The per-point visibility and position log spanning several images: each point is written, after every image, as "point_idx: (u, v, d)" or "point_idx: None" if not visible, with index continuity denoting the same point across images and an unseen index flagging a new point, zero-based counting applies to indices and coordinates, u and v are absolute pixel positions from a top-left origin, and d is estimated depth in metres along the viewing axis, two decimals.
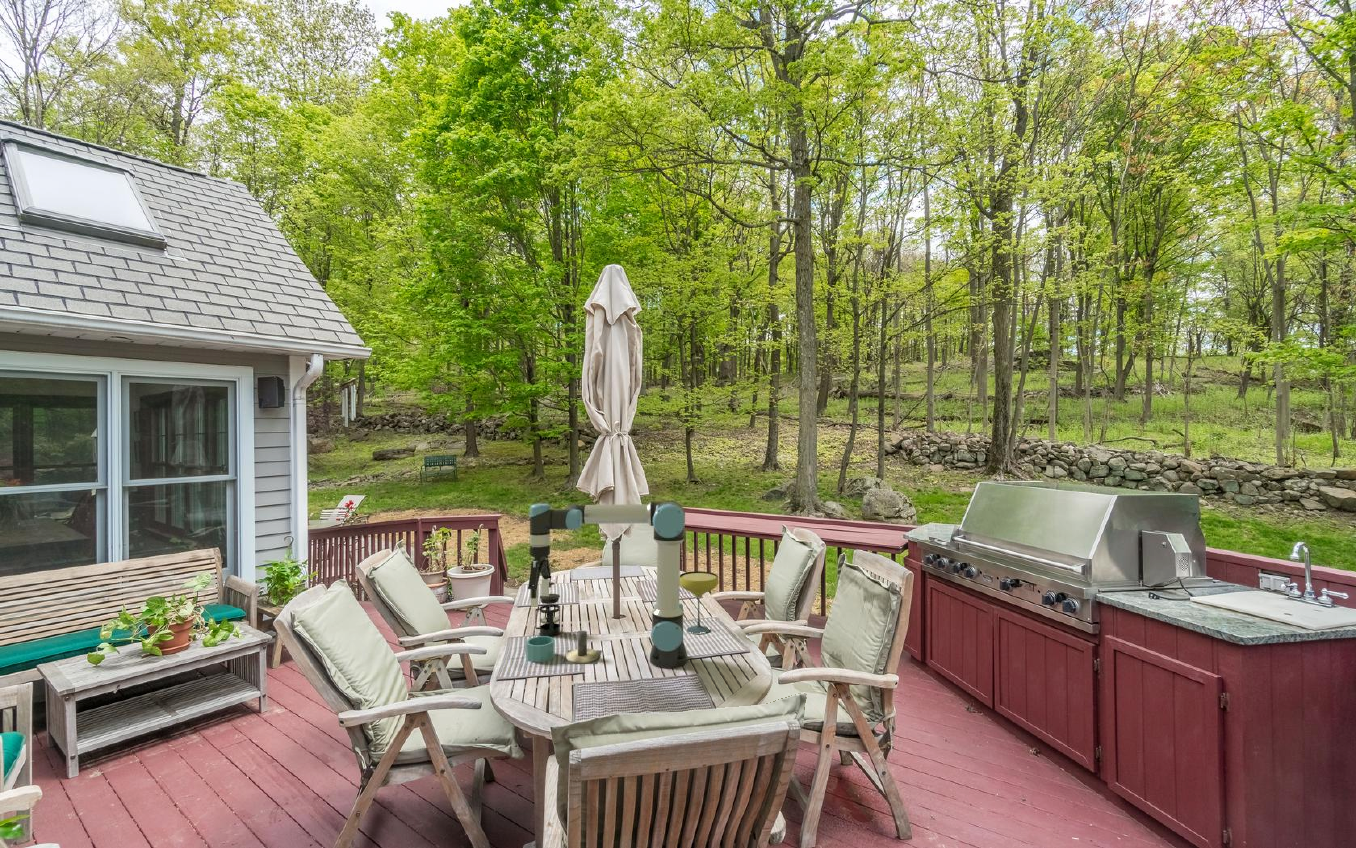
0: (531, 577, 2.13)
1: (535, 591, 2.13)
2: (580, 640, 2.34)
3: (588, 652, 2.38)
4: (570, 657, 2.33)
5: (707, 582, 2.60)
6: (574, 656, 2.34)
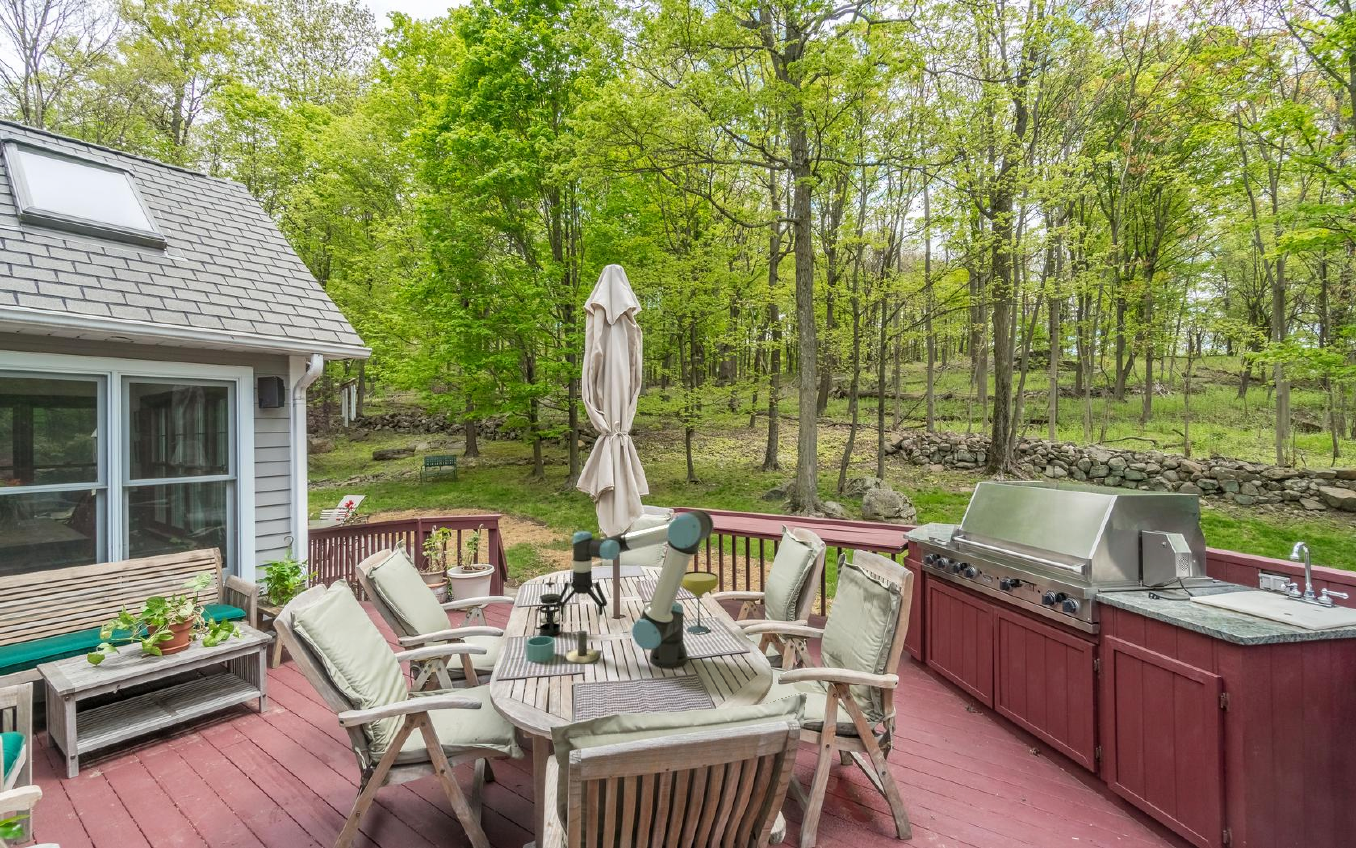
0: None
1: (562, 608, 2.35)
2: (580, 640, 2.34)
3: (588, 652, 2.38)
4: (570, 657, 2.33)
5: (707, 582, 2.60)
6: (574, 656, 2.34)
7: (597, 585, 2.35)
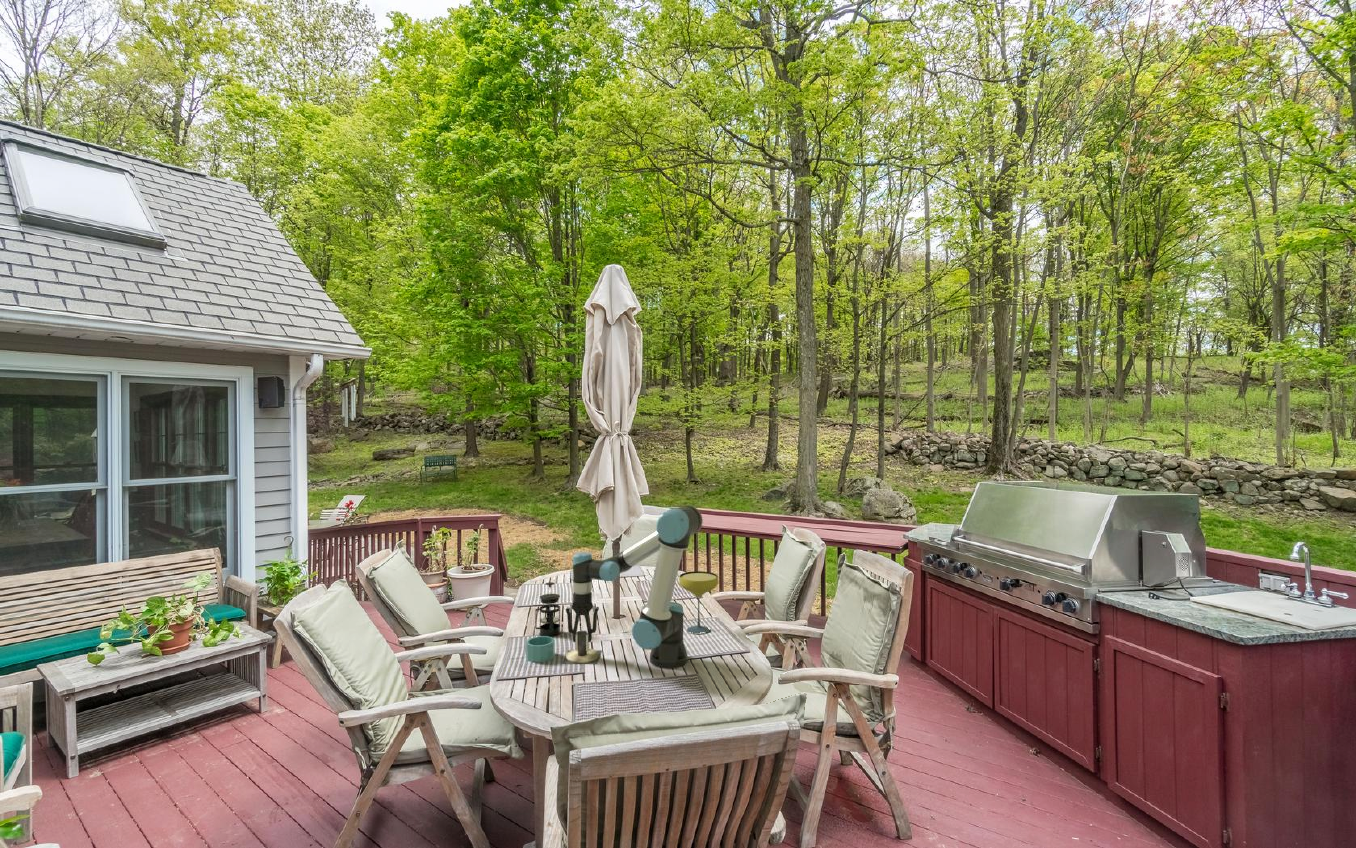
0: None
1: (574, 636, 2.35)
2: (580, 640, 2.34)
3: (588, 652, 2.38)
4: (570, 656, 2.33)
5: (707, 582, 2.60)
6: (574, 656, 2.34)
7: (596, 611, 2.34)
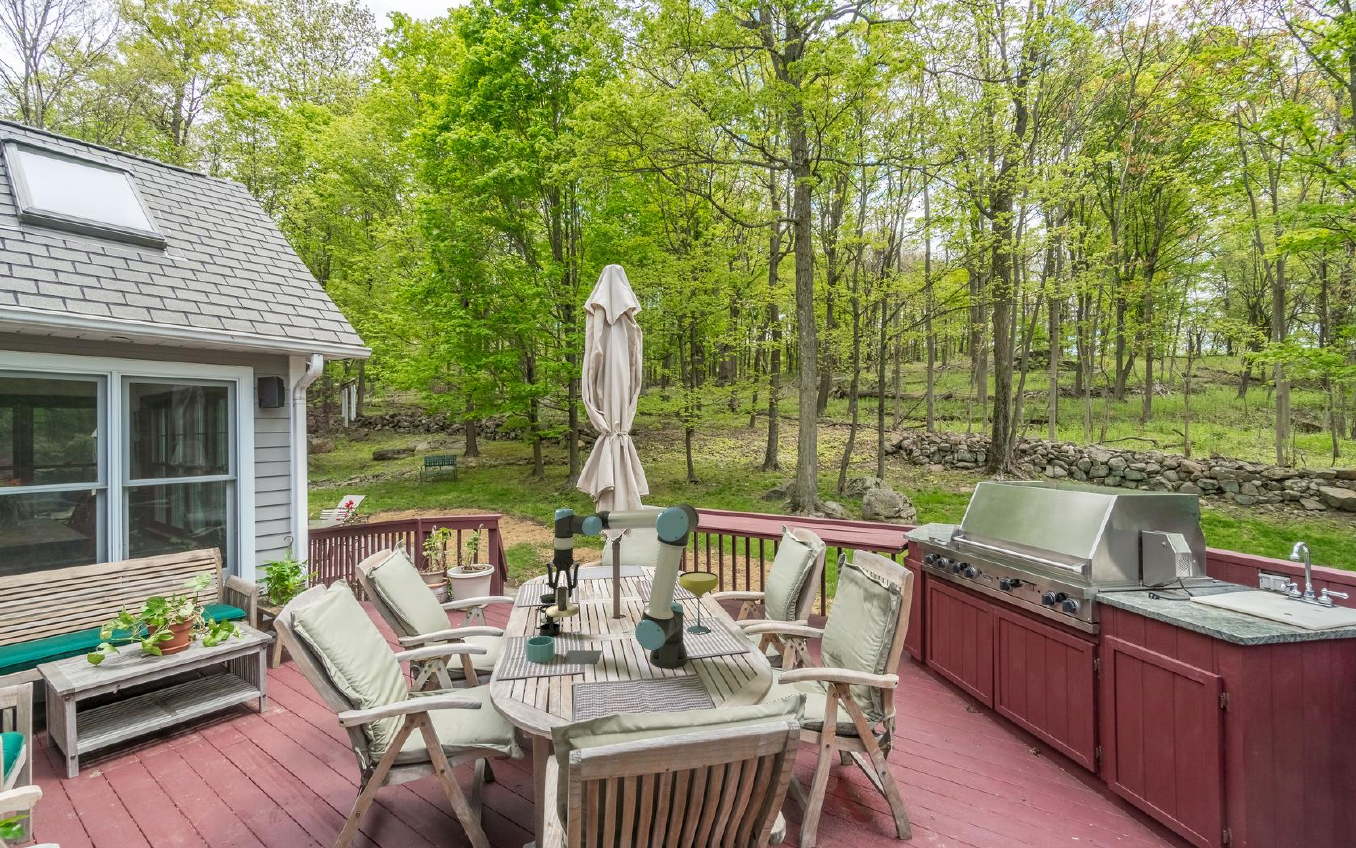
0: None
1: (554, 591, 2.35)
2: (560, 595, 2.35)
3: (568, 608, 2.38)
4: (550, 611, 2.34)
5: (707, 582, 2.60)
6: (554, 611, 2.34)
7: (577, 566, 2.35)
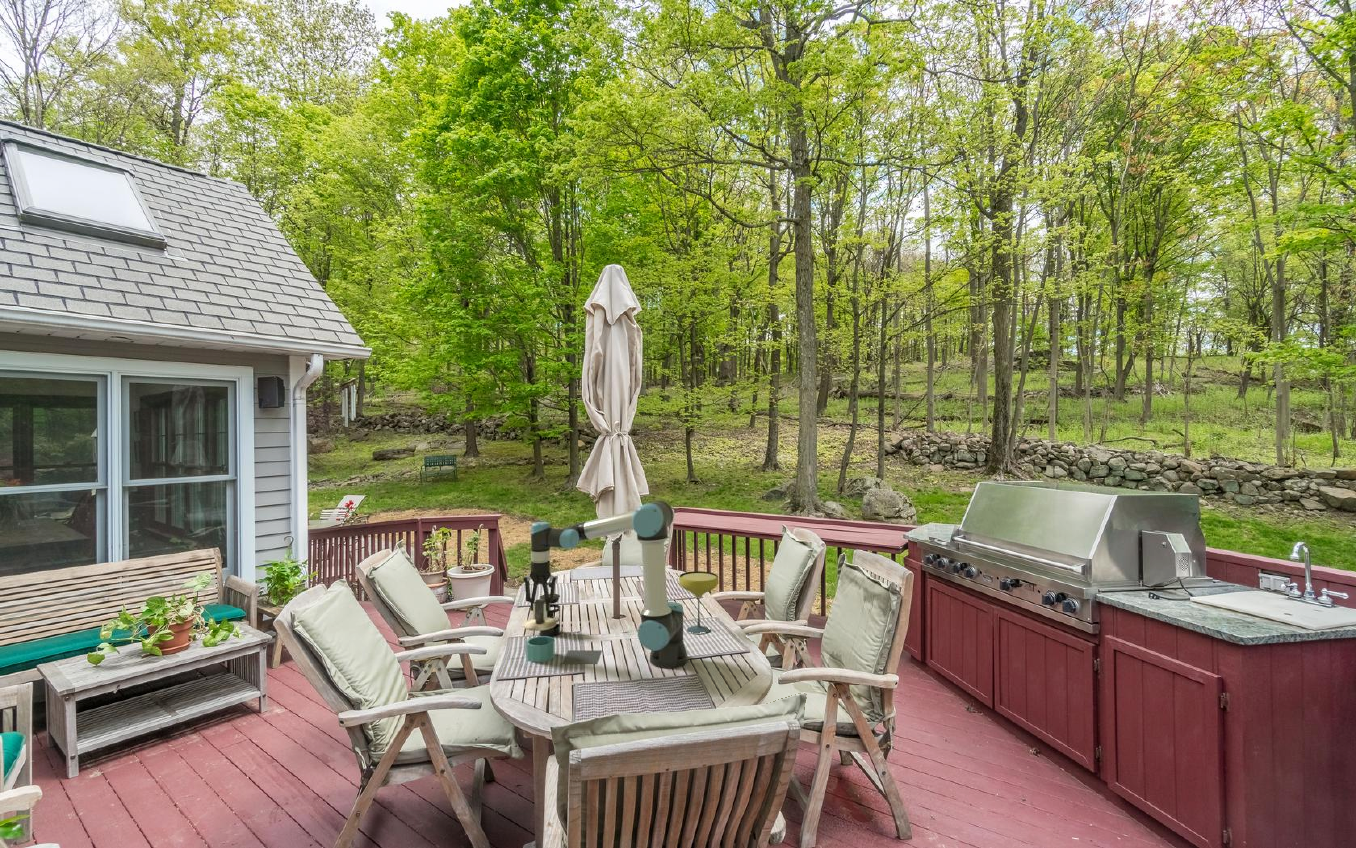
0: None
1: (532, 604, 2.35)
2: (538, 608, 2.34)
3: (546, 620, 2.38)
4: (527, 624, 2.34)
5: (707, 582, 2.60)
6: (531, 624, 2.34)
7: (554, 579, 2.35)
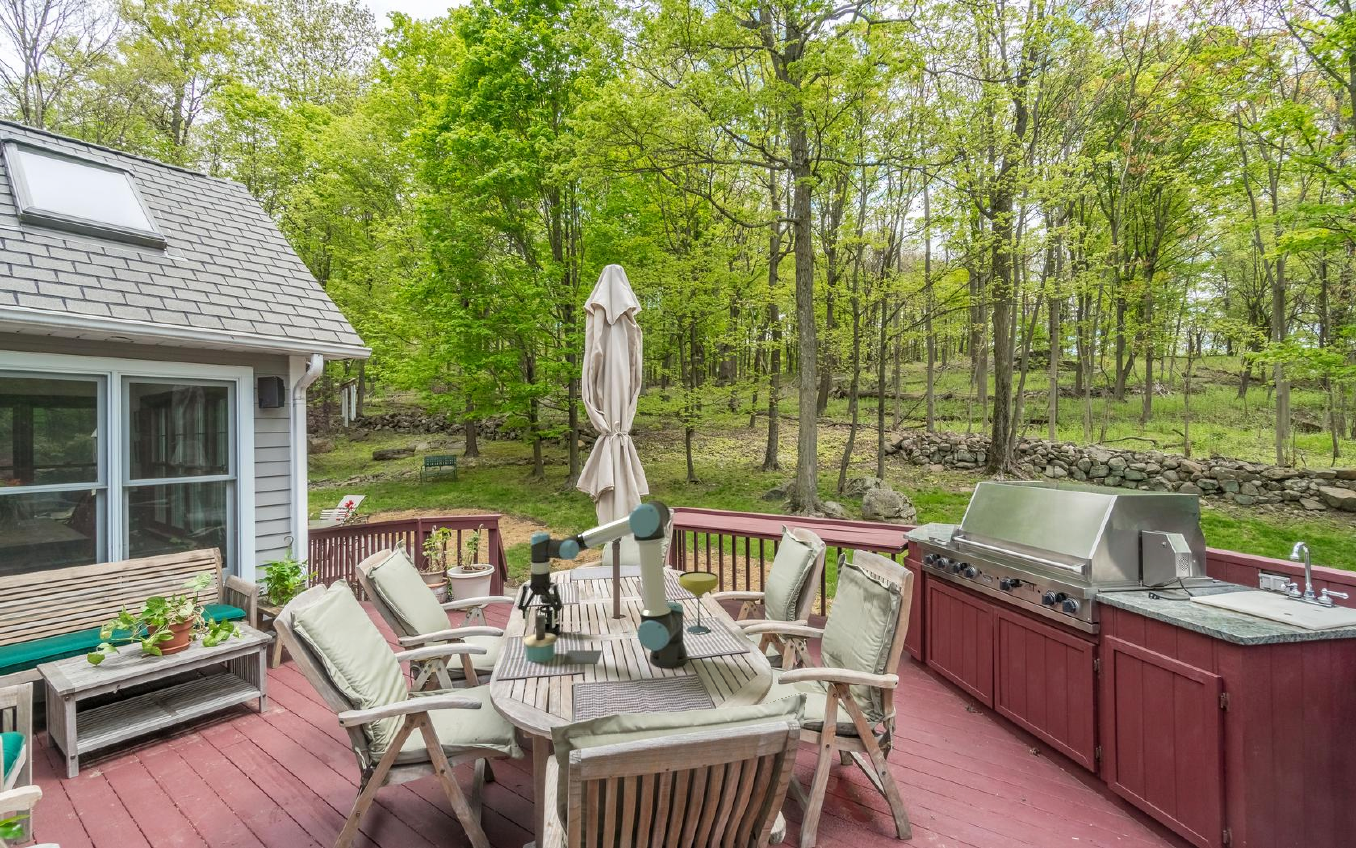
0: None
1: (524, 612, 2.35)
2: (538, 624, 2.34)
3: (547, 636, 2.38)
4: (528, 640, 2.34)
5: (707, 582, 2.60)
6: (532, 640, 2.34)
7: (555, 588, 2.35)
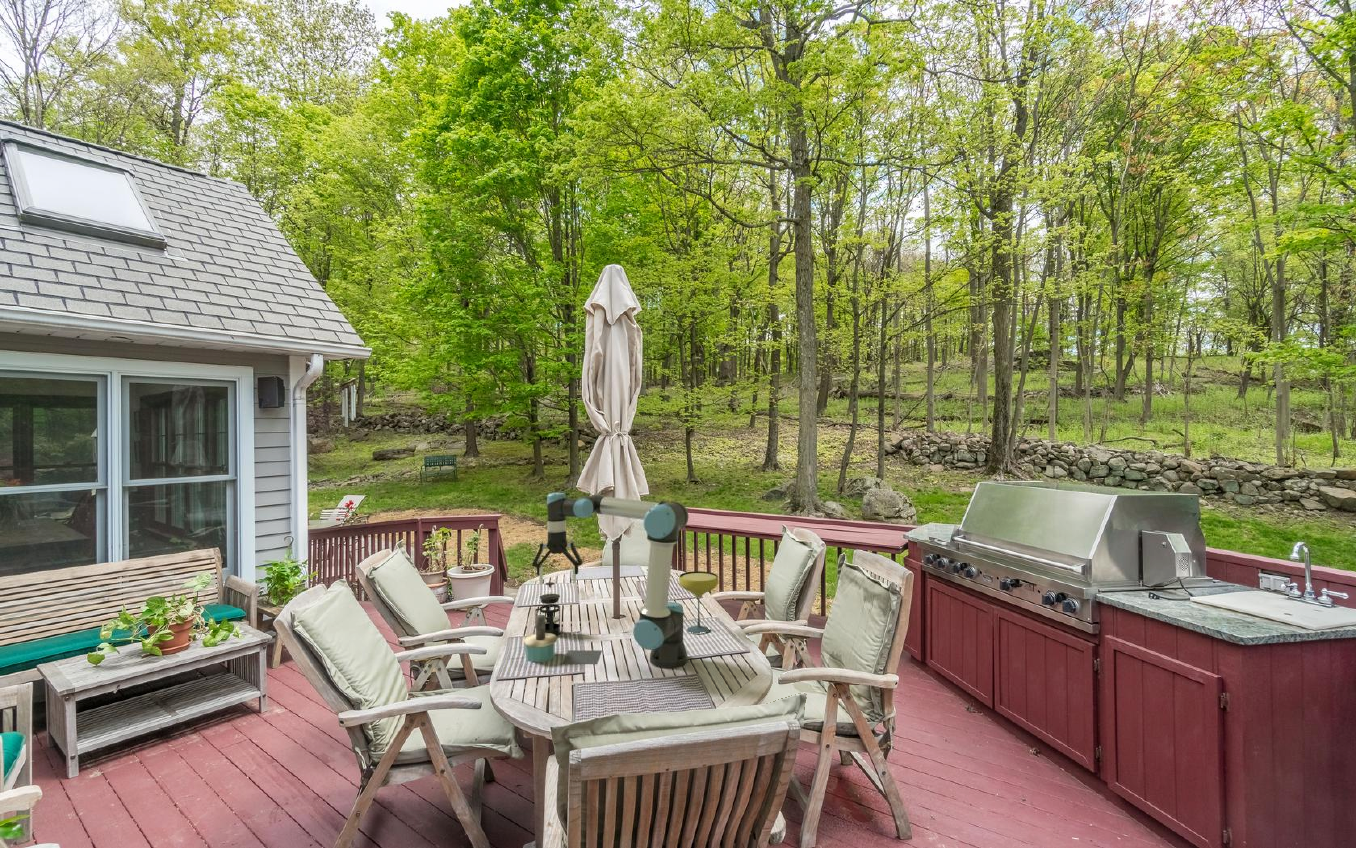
0: None
1: (538, 569, 2.38)
2: (538, 624, 2.34)
3: (547, 636, 2.38)
4: (528, 640, 2.34)
5: (707, 582, 2.60)
6: (532, 640, 2.34)
7: (572, 544, 2.38)
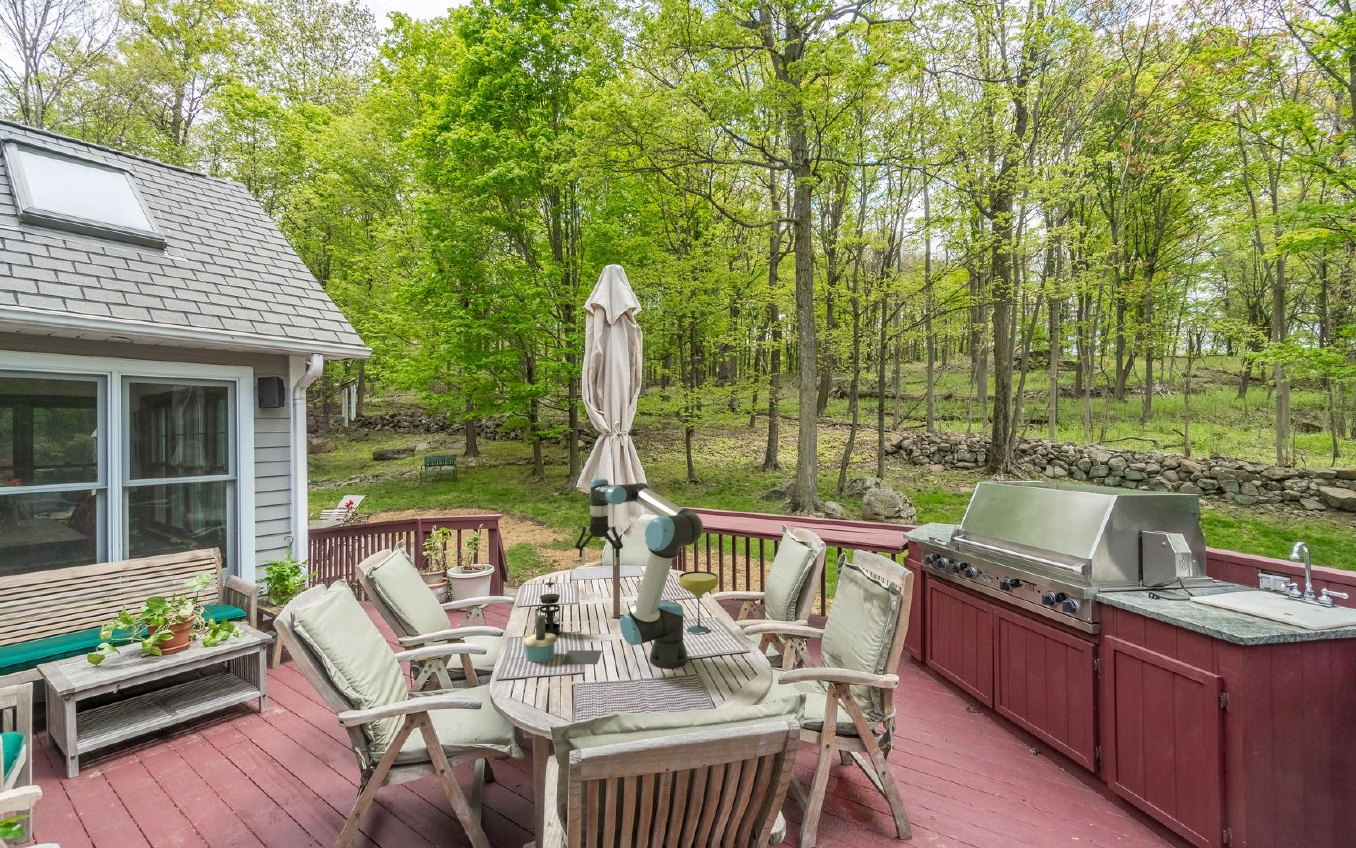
0: None
1: (580, 551, 2.48)
2: (538, 624, 2.34)
3: (547, 636, 2.38)
4: (528, 640, 2.34)
5: (707, 582, 2.60)
6: (532, 640, 2.34)
7: (613, 529, 2.48)
